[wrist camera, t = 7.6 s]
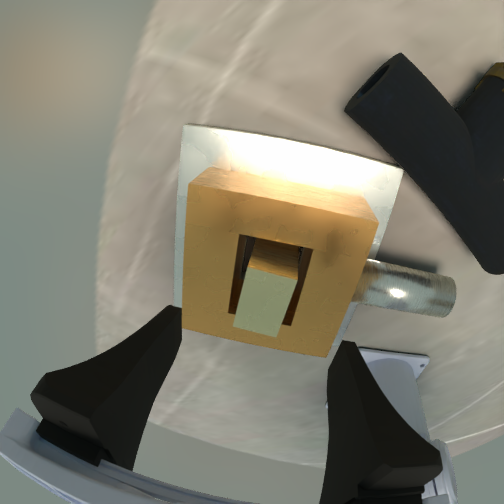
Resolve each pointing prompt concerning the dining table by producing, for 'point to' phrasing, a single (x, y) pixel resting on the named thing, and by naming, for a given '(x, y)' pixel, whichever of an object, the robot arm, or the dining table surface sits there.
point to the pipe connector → (444, 147)
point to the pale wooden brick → (267, 287)
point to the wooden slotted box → (289, 236)
